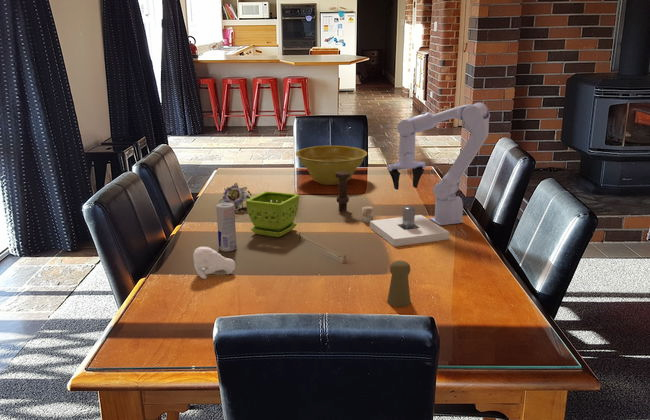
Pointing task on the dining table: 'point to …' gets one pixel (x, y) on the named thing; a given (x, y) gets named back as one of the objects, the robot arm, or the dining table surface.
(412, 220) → the long pin
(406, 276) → the pepper shaker
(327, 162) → the planter bowl
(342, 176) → the bolt
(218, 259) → the white rounded lumpy piece
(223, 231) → the beverage can
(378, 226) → the hole plate
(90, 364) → the dining table surface
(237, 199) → the passion flower
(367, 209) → the short pin
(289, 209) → the flower pot
